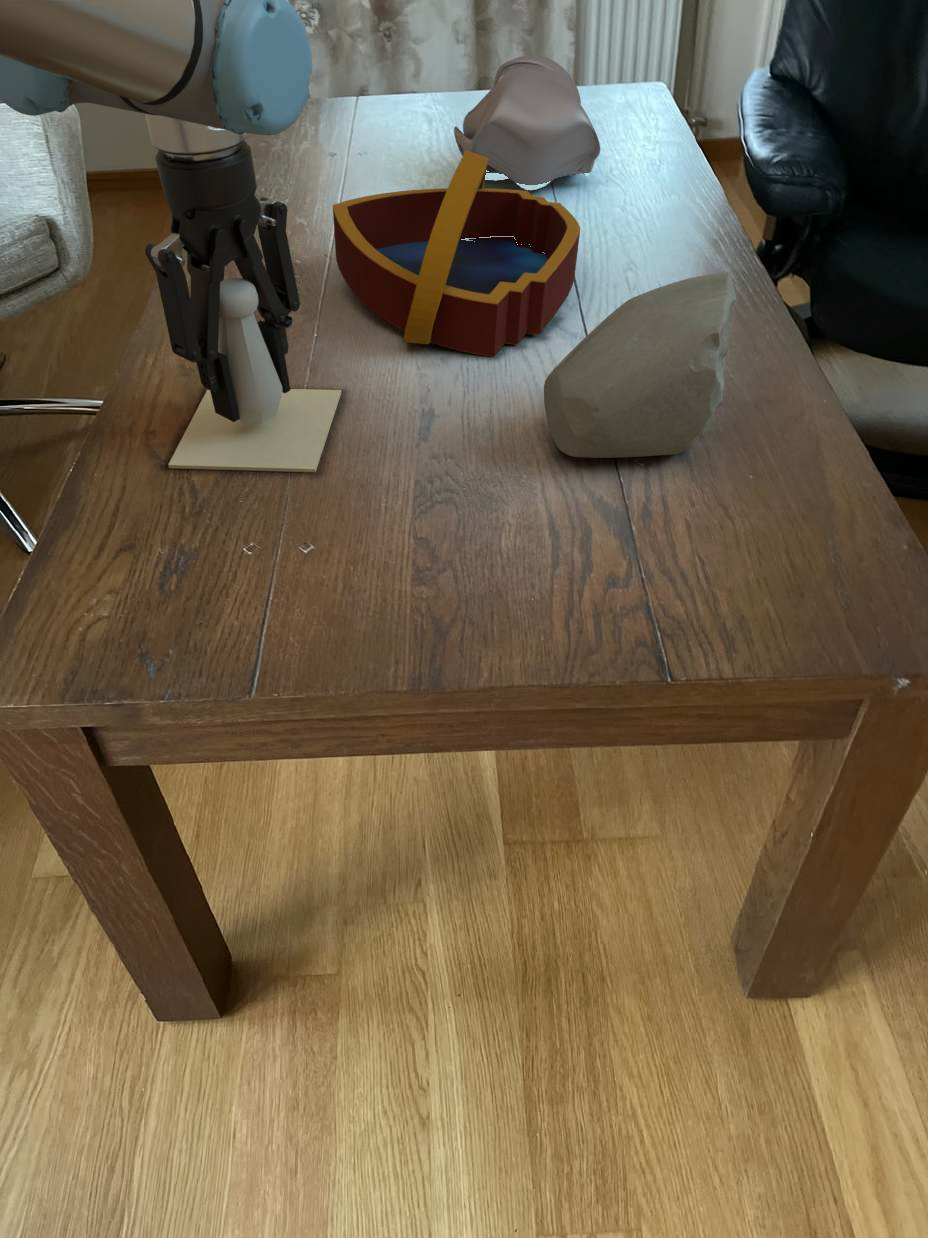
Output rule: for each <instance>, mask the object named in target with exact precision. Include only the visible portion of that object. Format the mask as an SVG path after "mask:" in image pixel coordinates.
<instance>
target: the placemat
mask: <svg viewBox="0 0 928 1238" xmlns="http://www.w3.org/2000/svg"><path fill="white" fill-rule="evenodd" d="M341 396H342V390H341V389H315V388H313V389H311V388H307V389H304V388H290V391H289V392H287V393H283V392H282V395H281V399H280V403H279V407H278V411H277V414H276V416H274V417H273V418H271V419H269V420H267V421H266V422H264V423H262V424H243V423H242V422H241V421H240V420H237V421H236V422H232V421H230V420H228V419H227V418H225V417H223V416H221V415H219V414H217V413H215V409H214V405H213V400H212V396H211V392H210V390H208V389H206V392H205V393H204V395H203V397H202V399H201V401H200V403H199V404H198V407H197V408H196V411H195V412H194V414H193V416H192V418H191V420H190V422H189V424H188V425H187V428H186V430H185V431H184V433H183V435H182V438H181V439H180V441H179V442H178V444H177V447H176V449H175V451H174V453H173V455H172V456H171V458H170V461H169V462H168V464H167V466H168V469H182V470H215V471H216V470H217V471H253V472H285V473H287V472H288V473H289V472H290V473H316V472H317V469H318V466H319V463H320V461H321V460H320V459H321V457H322V454H323V451H324V448H325V445H326V443H327V442H326V441H327V438H328V435H329V432H330V430H331V426H332V423H333V421H334V418H335V414H336V411H337V408H338V405H339V401H340V398H341Z"/></svg>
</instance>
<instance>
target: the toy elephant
mask: <svg viewBox="0 0 928 1238" xmlns="http://www.w3.org/2000/svg"><path fill="white" fill-rule="evenodd" d="M581 101H582V100H581V96H580V92H579V89H578V86H577V84H576V82H575V81H574V79H573V77H572V76H571V75H570V73H569V72H568V71H567V70H566V69H565V68H564V67H563V66H562V65H560V64H559V63H558V62H556V61H555V60H553V59H551V58H549V57H546V56H543V55H536V54H535V55H534V54H532V55H531V54H530V55H529V54H528V55H523V56H522V55H521V56H517V57H515V58H512V59H510V60H508V61H506V62H504V63H503V64H501V65H500V66H499V67H498V69H497V71H496V73H495V76H494V82H493V86H492V87H491V89H490V90H489V91H488V92H487V93H486V94H485V95H484V96H483V97H482V99H481V100H480V101H479V102H478V103H477V104H476V105H475V106H474V107H473V108H472V109H471V110H469V111H468V112H467V113H466V115H465V116H464V118H463V122H462V130H460V128H459V127H458V126H454V127H453V135H454V139H455V143H456V146H457V149H458V150H459V153H460V155H461V157H462V156H463V154H464V152H465V150H467V151H470V152H473V153H476V154H479V155H482V156H484V157H487V158H488V163H487V169H486V170H487V171H489V172H486V173H499V174H504V175H505V176H507V177H508V178H510V179H509V180H512V181H513V182H514V183H515V182H516V183H519V184H525V185H538V184H543V183H547V182H549V181H551V180H553V179H554V180H557V179H559V177H560V178H564V177H568V176H567V175H569V176H574V175H573V174H578V175H579V174H584V173H590V172H591V173H592V171H593V168H594V165H595V162H596V160H597V159H598V157H599V156H600V154H601V143H600V139H599V137H598V134H597V131H596V130H595V127H594V125H593V123H592V121H591V120H590V118H589V116H588V113H587V112H586V110H585V109H584V108H583V106H582V102H581ZM591 173H590V174H591ZM563 176H564V177H563ZM556 178H557V179H556ZM554 180H553V181H554ZM516 183H515V184H516ZM522 191H526V190H525V189H522ZM528 192H530V191H529V190H528Z"/></svg>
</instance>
